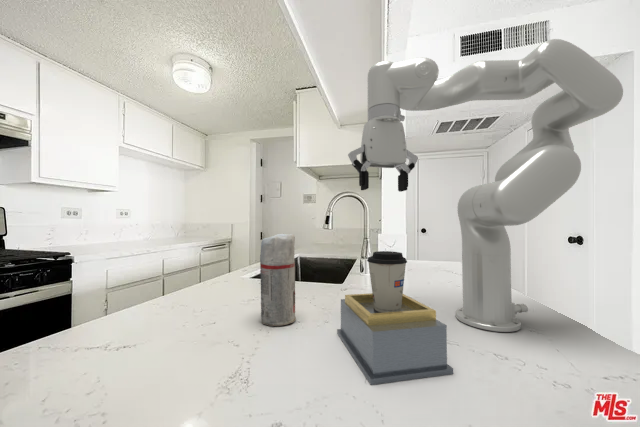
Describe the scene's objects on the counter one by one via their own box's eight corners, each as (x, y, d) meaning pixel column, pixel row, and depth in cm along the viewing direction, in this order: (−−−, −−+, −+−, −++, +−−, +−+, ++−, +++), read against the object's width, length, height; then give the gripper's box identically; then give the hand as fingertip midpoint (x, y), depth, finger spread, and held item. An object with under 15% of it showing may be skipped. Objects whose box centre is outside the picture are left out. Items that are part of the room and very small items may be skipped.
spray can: (289, 329, 55) (290, 234, 55) (253, 326, 56) (254, 234, 57) (300, 315, 63) (301, 233, 64) (268, 312, 65) (269, 232, 65)
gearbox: (337, 333, 53) (337, 291, 53) (402, 327, 56) (401, 287, 56) (370, 385, 36) (370, 323, 36) (461, 372, 39) (460, 315, 39)
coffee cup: (361, 311, 45) (360, 253, 45) (375, 300, 51) (374, 249, 51) (402, 319, 41) (401, 256, 42) (412, 306, 47) (411, 251, 48)
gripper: (408, 127, 67) (408, 193, 66) (344, 121, 63) (343, 191, 63) (425, 115, 60) (426, 189, 59) (354, 108, 56) (354, 186, 55)
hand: (383, 190), depth 61 cm, fingers open, 9 cm apart
